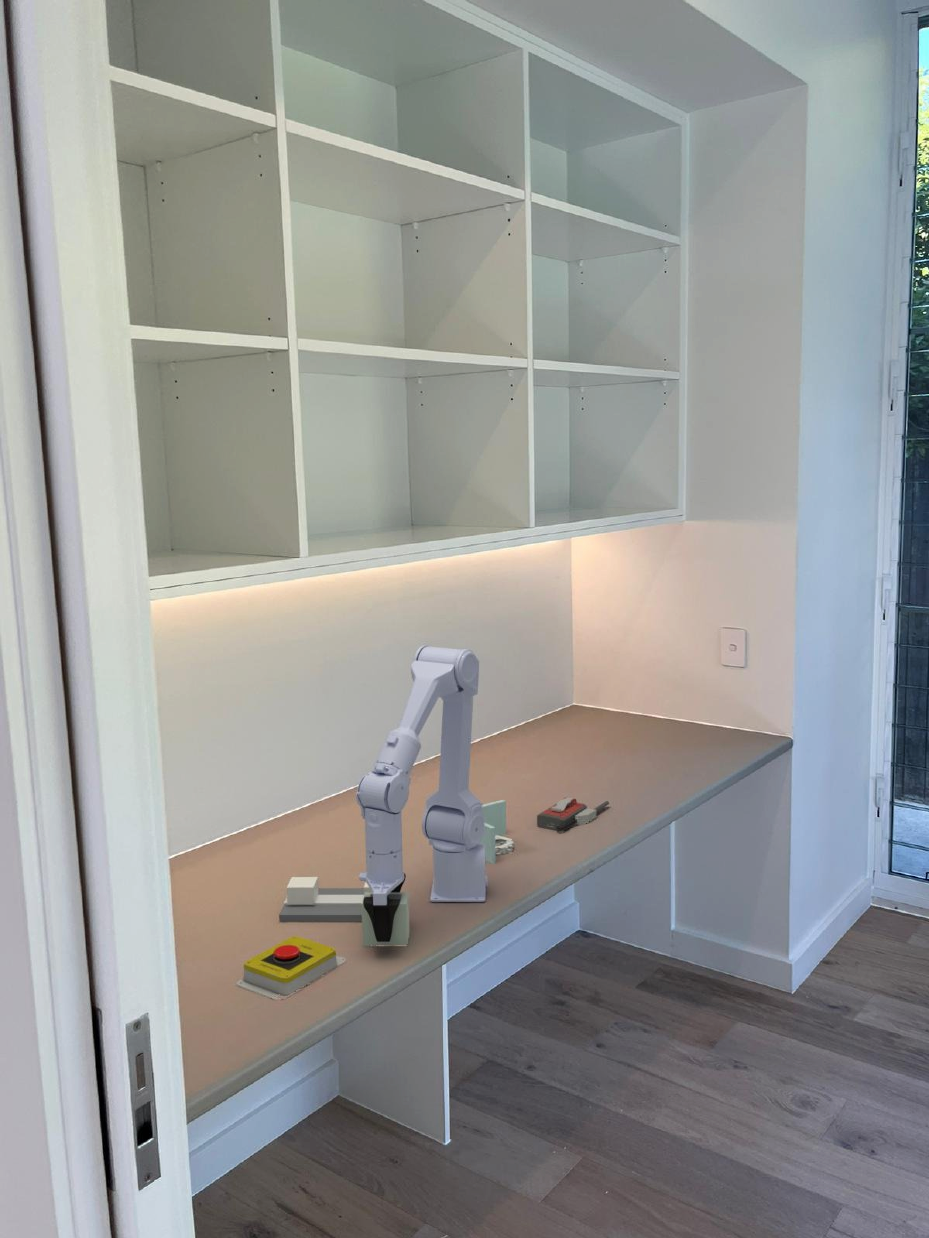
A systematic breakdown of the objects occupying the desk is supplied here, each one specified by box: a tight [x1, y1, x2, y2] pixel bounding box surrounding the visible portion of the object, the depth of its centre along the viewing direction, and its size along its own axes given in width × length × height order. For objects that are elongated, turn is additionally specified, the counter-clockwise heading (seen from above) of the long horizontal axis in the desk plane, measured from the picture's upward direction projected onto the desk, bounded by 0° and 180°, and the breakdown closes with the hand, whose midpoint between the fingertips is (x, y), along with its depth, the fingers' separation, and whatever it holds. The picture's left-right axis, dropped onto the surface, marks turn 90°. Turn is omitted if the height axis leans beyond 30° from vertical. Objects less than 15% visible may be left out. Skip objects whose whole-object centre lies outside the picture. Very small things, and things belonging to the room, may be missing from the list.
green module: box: [361, 891, 411, 947], centre depth 168 cm, size 7×4×7 cm, turn 88°
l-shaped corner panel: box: [478, 799, 515, 865], centre depth 207 cm, size 12×12×8 cm
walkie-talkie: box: [536, 796, 610, 833], centre depth 223 cm, size 9×4×20 cm
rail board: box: [278, 876, 373, 923], centre depth 180 cm, size 19×11×5 cm, turn 88°
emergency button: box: [236, 935, 347, 1000], centre depth 158 cm, size 9×4×15 cm
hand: (386, 929), depth 168 cm, fingers open, 7 cm apart
